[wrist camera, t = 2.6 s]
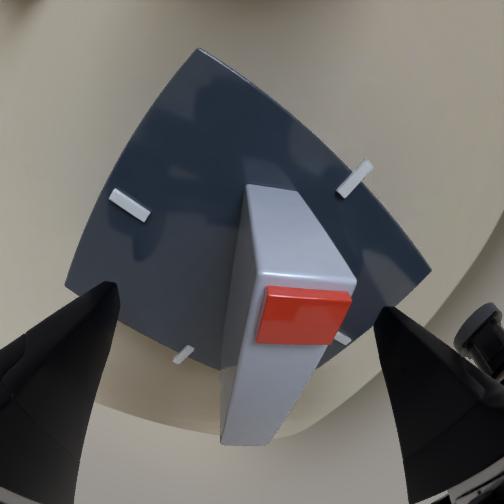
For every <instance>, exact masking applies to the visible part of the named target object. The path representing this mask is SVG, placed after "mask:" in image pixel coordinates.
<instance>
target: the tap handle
mask: <svg viewBox="0 0 504 504" xmlns="http://www.w3.org/2000/svg"><path fill="white" fill-rule="evenodd" d="M356 285H357V279H356V277H355V275H354V274H353V272H352V271H351V269H350V267H349V266H348V264H347V263H346V261H345V260H344V258H343V256H342V255H341V253H340V252H339V250H338V249H337V247H336V246H335V244H334V243H333V241H332V240H331V238H330V237H329V235H328V234H327V232H326V231H325V229H324V228H323V226H322V225H321V223H320V222H319V220H318V219H317V217H316V216H315V215H314V213H313V212H312V210H311V209H310V207H309V206H308V205H307V203H306V202H305V200H304V199H303V198H302V196H301V195H300V193H299V192H297V191H291V190H285V189H279V188H273V187H266V186H259V185H252V184H247V185H246V186H245V191H244V197H243V203H242V209H241V216H240V222H239V229H238V235H237V242H236V248H235V255H234V262H233V269H232V275H231V282H230V289H229V296H228V303H227V310H226V318H225V325H224V332H223V340H222V347H221V391H220V443H221V444H222V445H234V446H265V445H268V444H269V442H270V441H271V440H272V438H273V437H274V435H275V434H276V432H277V431H278V429H279V428H280V426H281V425H282V423H283V422H284V420H285V419H286V417H287V416H288V414H289V412H290V411H291V409H292V408H293V406H294V404H295V403H296V401H297V400H298V398H299V396H300V395H301V393H302V391H303V389H304V388H305V386H306V384H307V383H308V381H309V379H310V377H311V376H312V374H313V372H314V370H315V369H316V367H317V365H318V363H319V361H320V359H321V357H322V356H323V354H324V352H325V350H326V348H327V346H328V345H331V344H332V342H333V340H334V338H335V336H336V334H337V332H338V330H339V328H340V326H341V324H342V322H343V320H344V318H345V316H346V314H347V311H348V309H349V307H350V305H351V303H352V299H351V296H352V294H353V292H354V289H355V287H356Z"/></svg>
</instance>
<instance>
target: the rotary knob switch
mask: <svg viewBox="0 0 504 504" xmlns="http://www.w3.org/2000/svg"><path fill="white" fill-rule="evenodd" d="M373 168H374V166H373V165H372V164H371V163H370V162H369V161H368V159H364V160H363V161H362V162H361V163H360V165H359V166H358V167H357V168H356V169H355V170H354V171H353V172H352V171H351V170H350V169H349V168H348V167H347V166H346V165H345V164H344V163H343V162H342V161H341V160H340V159H339V158H338V157H337V156H336V155H335V154H334V153H333V152H332V151H331V150H330V149H329V148H328V147H327V146H326V145H325V144H324V143H323V142H322V141H321V140H320V139H319V138H318V137H317V136H315V135H314V134H313V133H312V132H311V131H310V130H309V129H308V128H307V127H306V126H304V125H303V124H302V123H301V122H300V121H299V120H298V119H296V118H295V117H294V116H293V115H292V114H291V113H289V112H288V111H287V110H286V109H285V108H283V107H282V106H281V105H280V104H278V103H277V102H276V101H275V100H274V99H272V98H271V97H270V96H268V95H267V94H266V93H265V92H263V91H262V90H261V89H259V88H258V87H257V86H255V85H254V84H253V83H251V82H250V81H249V80H247V79H246V78H245V77H243V76H242V75H240V74H239V73H237V72H236V71H235V70H233V69H232V68H230V67H229V66H227V65H226V64H224V63H223V62H221V61H220V60H218V59H217V58H215V57H214V56H212V55H211V54H209V53H207V52H206V51H204V50H203V49H201V48H198V49H196V50H195V51H194V52H193V53H192V55H191V56H190V57H189V58H188V59H187V60H186V62H185V63H184V64H183V65H182V66H181V68H180V69H179V70H178V71H177V73H176V74H175V75H174V76H173V78H172V79H171V80H170V82H169V83H168V84H167V85H166V87H165V88H164V89H163V91H162V92H161V93H160V95H159V96H158V98H157V99H156V100H155V102H154V103H153V105H152V106H151V108H150V109H149V110H148V112H147V113H146V115H145V116H144V118H143V119H142V121H141V122H140V124H139V126H138V127H137V129H136V130H135V132H134V133H133V135H132V137H131V138H130V140H129V142H128V143H127V145H126V147H125V148H124V150H123V152H122V154H121V155H120V157H119V159H118V161H117V162H116V164H115V166H114V168H113V170H112V172H111V174H110V175H109V177H108V179H107V181H106V183H105V185H104V187H103V189H102V191H101V193H100V195H99V197H98V200H97V202H96V204H95V206H94V208H93V210H92V213H91V215H90V217H89V219H88V222H87V224H86V227H85V229H84V231H83V234H82V236H81V239H80V241H79V244H78V247H77V249H76V252H75V255H74V258H73V260H72V263H71V266H70V269H69V272H68V275H67V278H66V281H65V287H67V288H68V289H70V290H71V291H72V292H74V293H75V294H77V295H78V296H81V295H83V294H84V293H86V292H87V291H89V290H91V289H92V288H94V287H95V286H97V285H99V284H100V283H102V282H104V281H110V282H115V283H116V284H117V286H118V292H119V298H120V312H119V315H118V319H117V320H118V321H120V322H122V323H124V324H125V325H127V326H129V327H131V328H132V329H134V330H136V331H138V332H140V333H142V334H143V335H145V336H147V337H149V338H151V339H153V340H155V341H157V342H159V343H161V344H163V345H165V346H167V347H169V348H171V349H173V350H175V351H177V352H179V353H178V354H177V355H176V356H175V357H174V358H173V360H172V362H174V363H176V364H178V365H179V364H180V363H181V362H182V361H183V360H184V359H185V358H186V357H190V358H192V359H194V360H196V361H198V362H201V363H203V364H205V365H208V366H210V367H212V368H215V369H217V370H219V371H221V347H222V340H223V332H224V325H225V318H226V310H227V303H228V296H229V289H230V282H231V275H232V269H233V262H234V255H235V248H236V242H237V235H238V229H239V222H240V216H241V209H242V203H243V197H244V191H245V186H246V185H247V184H252V185H259V186H266V187H273V188H279V189H285V190H291V191H297V192H299V193H300V195H301V196H302V198H303V199H304V200H305V202H306V203H307V205H308V206H309V207H310V209H311V210H312V212H313V213H314V215H315V216H316V217H317V219H318V220H319V222H320V223H321V225H322V226H323V228H324V229H325V231H326V232H327V234H328V235H329V237H330V238H331V240H332V241H333V243H334V244H335V246H336V247H337V249H338V250H339V252H340V253H341V255H342V256H343V258H344V260H345V261H346V263H347V264H348V266H349V267H350V269H351V271H352V272H353V274H354V275H355V277H356V279H357V285H356V287H355V289H354V292H353V294H352V296H351V299H352V303H351V305H350V307H349V309H348V311H347V314H346V316H345V318H344V320H343V322H342V324H341V326H340V328H339V330H338V332H337V334H336V336H335V338H334V340H333V342H332V344H331V345H328V346H327V348H326V350H325V352H324V354H323V356H322V357H321V359H320V361H319V363H318V365H317V367H316V369H317V368H319V367H320V366H322V365H323V364H324V363H326V362H327V361H329V360H330V359H331V358H333V357H334V356H335V355H337V354H338V353H339V352H341V351H342V350H343V349H345V348H346V347H347V346H349V345H350V344H351V343H352V342H354V341H355V340H356V339H358V338H359V337H360V336H361V335H363V334H364V333H365V332H366V331H367V330H369V329H370V328H371V327H372V326H373V325H374V322H375V321H376V319H377V317H378V315H379V313H380V311H381V309H382V308H383V307H385V306H393V307H395V306H396V305H397V304H398V303H400V302H401V301H402V300H403V299H404V298H405V297H406V296H407V295H408V294H409V293H410V292H411V291H412V290H413V289H414V288H415V287H416V286H417V285H418V284H419V283H420V282H421V281H422V280H423V279H424V278H425V277H426V276H427V275H428V274H429V273H430V272H431V271H432V269H431V267H430V266H429V265H428V263H427V262H426V260H425V259H424V257H423V256H422V255H421V253H420V252H419V251H418V249H417V248H416V246H415V245H414V244H413V242H412V241H411V240H410V238H409V237H408V236H407V235H406V233H405V232H404V231H403V229H402V228H401V227H400V226H399V224H398V223H397V222H396V221H395V219H394V218H393V217H392V216H391V215H390V213H389V212H388V211H387V210H386V209H385V207H384V206H383V205H382V204H381V203H380V202H379V200H378V199H377V198H376V197H375V196H374V195H373V194H372V192H371V191H370V190H369V189H368V188H367V187H366V186H365V185H364V184H363V182H362V180H363V179H364V177H365V176H366V175H367V174H368V173H369V172H370V171H371V170H372V169H373ZM316 369H315V370H316Z"/></svg>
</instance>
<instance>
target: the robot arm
mask: <svg viewBox="0 0 504 504" xmlns="http://www.w3.org/2000/svg"><path fill="white" fill-rule="evenodd" d="M119 312H120V298H119V292H118V286H117V284H116V283H115V282H110V281H104V282H102V283H100V284H99V285H97V286H95V287H94V288H92V289H91V290H89V291H87V292H86V293H84V294H83V295H81V296H79V297H78V298H76V299H75V300H73V301H72V302H70V303H69V304H67V305H66V306H64V307H62V308H61V309H59V310H58V311H56V312H55V313H53V314H52V315H50V316H49V317H47V318H46V319H44V320H43V321H42V322H40V323H39V324H37V325H36V326H34V327H33V328H31V329H30V330H28V331H27V332H26V334H23V335H21V336H20V337H18V338H17V339H16V340H14V341H13V342H11V343H10V344H8V345H7V346H5V347H4V348H2V349H1V350H0V504H74V495H75V488H76V482H77V475H78V470H79V464H80V461H79V460H80V458H81V453H82V448H83V444H84V439H85V435H86V430H87V426H88V422H89V418H90V414H91V410H92V407H93V403H94V400H95V396H96V393H97V389H98V386H99V383H100V380H101V376H102V373H103V370H104V367H105V364H106V361H107V358H108V355H109V352H110V348H111V344H112V340H113V336H114V332H115V327H116V323H117V319H118V315H119ZM374 334H375V339H376V343H377V348H378V354H379V359H380V364H381V368H382V371H383V375H384V379H385V382H386V386H387V389H388V394H389V397H390V401H391V405H392V409H393V414H394V418H395V423H396V427H397V432H398V437H399V442H400V447H401V452H402V458H403V465H404V471H405V478H406V485H407V493H408V501H409V504H415V503H417V502H420V501H423V500H425V499H428V498H430V497H432V496H435V495H437V494H439V493H441V492H444V491H446V490H448V494H446V495H445V496H443V497H441V498H440V499H438V500H436V501H435V502H433V503H431V504H504V329H503V328H502V327H501V323H500V318H499V313H498V312H497V311H494V312H493V313H492V315H491V316H490V317H489V318H488V319H487V320H486V321H485V322H484V323H483V324H482V325H481V326H480V327H479V328H478V329H477V330H476V331H475V332H474V333H473V334H472V335H471V336H470V337H469V338H468V339H467V340H466V341H465V342H464V343H463V344H462V345H461V348H462V349H463V351H464V352H465V354H466V355H467V357H468V358H469V359H471V358H472V359H473V360H474V362H475V364H476V365H477V367H478V368H477V367H476V366H474V365H473V364H472V363H470V362H469V361H467V360H466V359H465V358H464V357H462V356H461V355H460V354H458V353H457V352H456V351H454V350H453V349H452V348H450V347H449V346H448V345H446V344H445V343H444V342H442V341H441V340H440V339H438V338H437V337H436V336H434V335H433V334H432V333H430V332H429V331H427V330H426V329H425V328H423V327H422V326H421V325H419V324H418V323H416V322H415V321H414V320H412V319H411V318H409V317H408V316H407V315H405V314H404V313H402V312H401V311H400V310H398V309H397V308H395V307H393V306H385V307H383V308H382V309H381V311H380V313H379V315H378V317H377V319H376V321H375V322H374Z"/></svg>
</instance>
